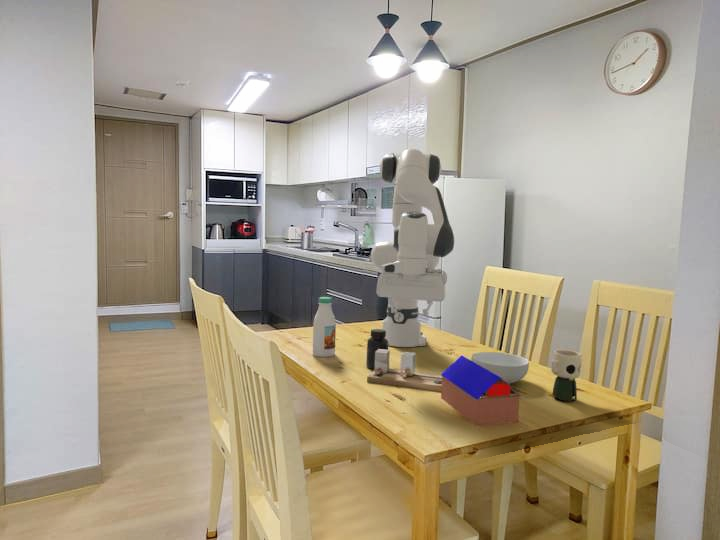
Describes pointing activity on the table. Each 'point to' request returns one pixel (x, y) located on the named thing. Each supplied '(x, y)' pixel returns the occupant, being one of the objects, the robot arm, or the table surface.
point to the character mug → (566, 373)
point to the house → (479, 393)
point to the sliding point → (407, 364)
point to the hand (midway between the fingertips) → (409, 314)
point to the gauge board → (394, 378)
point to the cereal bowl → (503, 365)
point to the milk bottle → (324, 329)
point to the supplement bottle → (375, 346)
